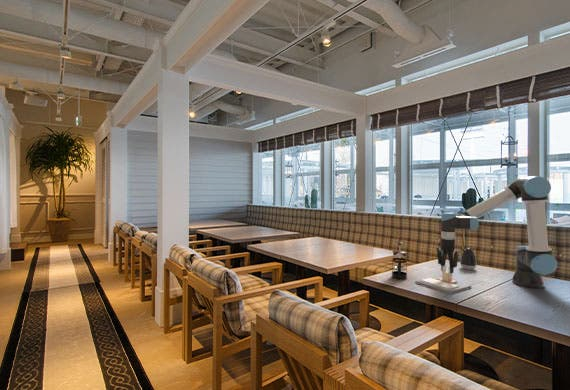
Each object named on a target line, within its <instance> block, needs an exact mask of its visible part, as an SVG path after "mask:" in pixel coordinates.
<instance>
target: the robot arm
mask: <svg viewBox="0 0 570 390" xmlns="http://www.w3.org/2000/svg"><path fill="white" fill-rule="evenodd" d="M551 190H552V185H551V183H550V181H549V180H548V179H547V178H545V177H543V176H540V175H539V176H538V175H531V176H523V177H519V178H518V179H516V180H514V181H511V183H509V184H508V185H506V186H504V187H503V189H502V190H500V191H498V192H497V193H495V194H493V195H491V196H490V197H488V198H486V199H484V200H482V201H481V202H479V203H477V204H475V205H474V206H472V207H470V208H468V209H466V210H465V211H463V212H461V213H457V214H456V213H455V212H442V213H441V219H440V228H441V229H440V237H441V239H440V247H439V246H438V247H436V251H437V263H438V265H440V267H441V268H440V270H441V272H443V271H447V265H446V263H447V256H448V263H449V267H448V279H451V278H452V279H453V274H454V273H455V271H454V268H457V267H458V261H459V254H460V250H458V249H456V247H455V245H456V240H455V239H456V229H457V230H459V229H460V230H470V231H472V230H478V229H479V226H480V221H479V218H481V217H483V216H485V215H487V214H489V213H491V212H493V211H495V210H496V209H498V208H500V207H502V206H503V205H506V204H508V203H509V202H512V201H517V200H519V199H521V202H523V203H524V205H525V215H526V216H525V217H526V225H527V226H526V227H527V238H528V240H527V241H528V245H518V246H517V247H516V254H515V256H516V257H515V260H516V262H515V272H514V274H513V276H512V277H511V282H512V284H514V285H516V286H520V287H525V288H530V289H531V288H533V289H542V288H544V286H545V285H544V284H545V283H544V279H543V277H542V275H543V276H544V275H545V276H547V275H550V274H553V273H554V272H555V271H556V269H557V268H558V261H557V259H556V258H555V257H554V255H553V249H552V248H551V247H550V246H549V241H548V230H547V229H548V228H547V227H548V226H547V215H546V214H547V213H546V202H548V200H549V197H548V195H549V194H550V192H551Z"/></svg>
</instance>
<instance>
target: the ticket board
mask: <svg viewBox="0 0 570 390" xmlns="http://www.w3.org/2000/svg"><path fill="white" fill-rule="evenodd" d="M438 278H442V276H438V275H436V276H432V277H431V276H430V277H426V278H423V279H418V280H415V284H417V285H419V286H424V287H427V288H429V289H434V290H437V291H439V292H444V293H446V294H449V295H452V294H455V293H460V292H464V291H467V290H470V289H472V285H471V284H467V283H463V282H460V281H459V282H458V281H457V283H453V284H452V283H448V282H444V281H440V280H438Z"/></svg>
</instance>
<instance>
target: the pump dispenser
mask: <svg viewBox="0 0 570 390" xmlns="http://www.w3.org/2000/svg"><path fill="white" fill-rule="evenodd" d="M460 250H461V252H462V254H461V255H460V260H459V264H460V266H461V268H462V269H464V270H467V271H473V270H475V269H476V267H477V264H478V263H477V258H476V255H475V254H476V253H475V252H474V250H473V249H472V248H470V247H466V248H464V249H463V248H462V249H460Z"/></svg>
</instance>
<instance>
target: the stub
mask: <svg viewBox="0 0 570 390" xmlns="http://www.w3.org/2000/svg"><path fill="white" fill-rule="evenodd" d="M441 272H442V271H441ZM438 280H440V281H444V282H448V283H452V284H453V283H457V282H458V280H454V279H453V277H452V278H451V279H448V270H447V269H446V271H443V272H442V274H441V278H438Z"/></svg>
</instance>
